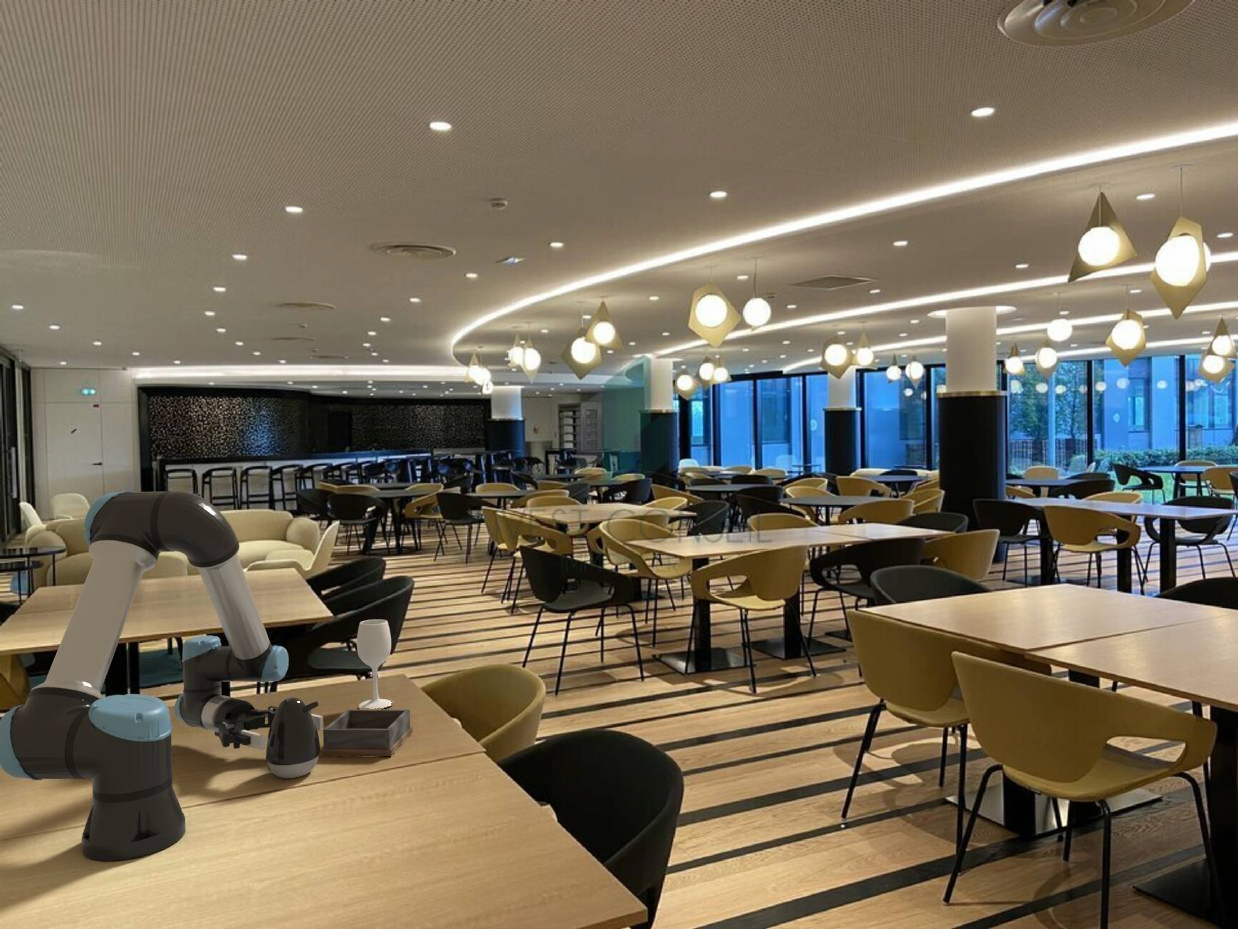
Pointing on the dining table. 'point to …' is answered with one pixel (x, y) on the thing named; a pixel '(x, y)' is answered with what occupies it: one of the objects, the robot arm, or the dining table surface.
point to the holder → (367, 733)
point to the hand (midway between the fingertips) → (293, 732)
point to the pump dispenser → (293, 739)
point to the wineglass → (374, 654)
